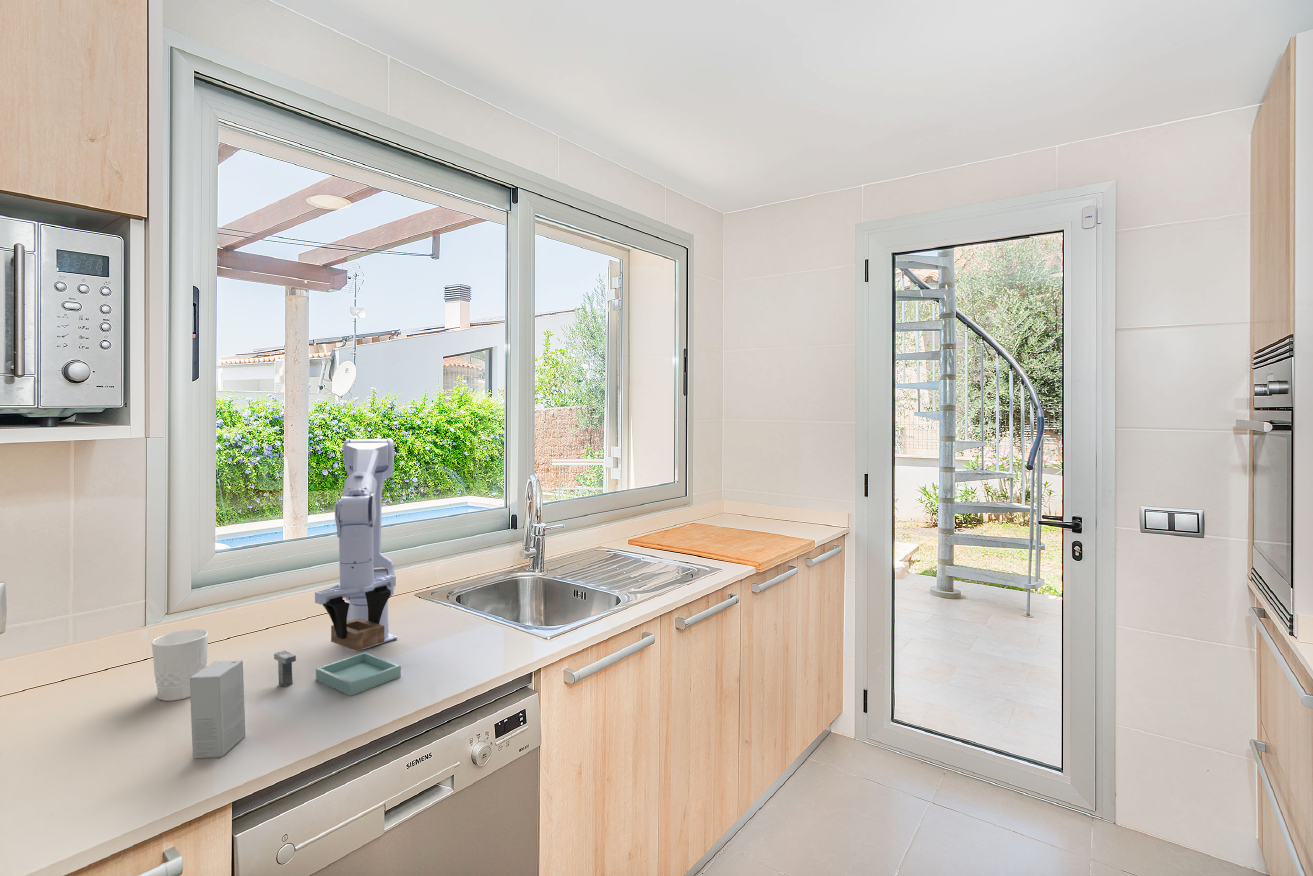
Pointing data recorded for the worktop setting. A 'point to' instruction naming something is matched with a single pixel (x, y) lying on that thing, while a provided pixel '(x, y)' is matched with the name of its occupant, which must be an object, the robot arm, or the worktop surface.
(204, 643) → the white cup
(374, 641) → the frame ring
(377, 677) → the tray
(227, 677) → the skincare box
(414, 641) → the worktop surface
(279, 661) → the t post
